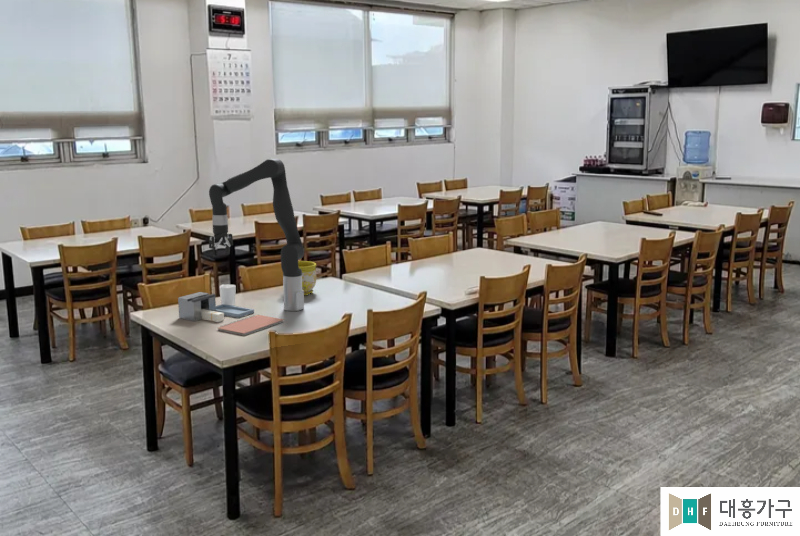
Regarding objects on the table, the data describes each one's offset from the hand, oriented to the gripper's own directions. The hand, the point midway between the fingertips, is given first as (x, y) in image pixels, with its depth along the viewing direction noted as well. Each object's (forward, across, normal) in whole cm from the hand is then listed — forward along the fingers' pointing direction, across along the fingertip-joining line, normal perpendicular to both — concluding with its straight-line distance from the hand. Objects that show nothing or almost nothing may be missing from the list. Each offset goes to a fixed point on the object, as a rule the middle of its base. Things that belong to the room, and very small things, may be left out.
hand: (221, 255), depth 369 cm
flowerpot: (+25, +40, -18) cm, 50 cm away
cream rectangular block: (+25, -26, -16) cm, 39 cm away
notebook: (+26, -24, -40) cm, 54 cm away
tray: (+25, -12, -16) cm, 32 cm away
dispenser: (+25, -26, -8) cm, 37 cm away
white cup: (+25, -2, -5) cm, 26 cm away
